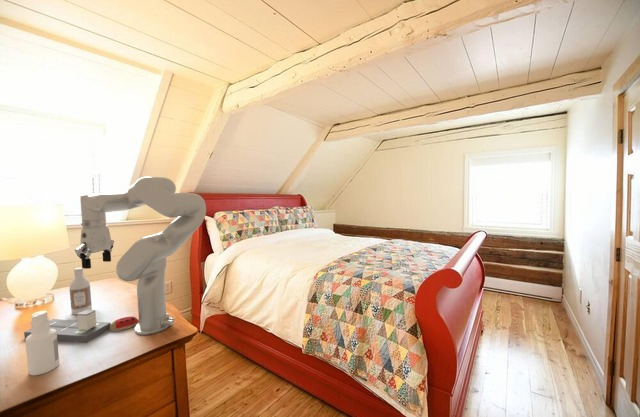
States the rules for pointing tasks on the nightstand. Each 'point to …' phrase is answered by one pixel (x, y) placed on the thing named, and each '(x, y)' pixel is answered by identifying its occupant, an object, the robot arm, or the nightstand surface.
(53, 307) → the nightstand surface
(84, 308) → the bath foam
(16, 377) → the nightstand surface
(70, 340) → the mixing desk
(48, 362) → the white bottle
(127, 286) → the nightstand surface
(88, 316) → the fader knob
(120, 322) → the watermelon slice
